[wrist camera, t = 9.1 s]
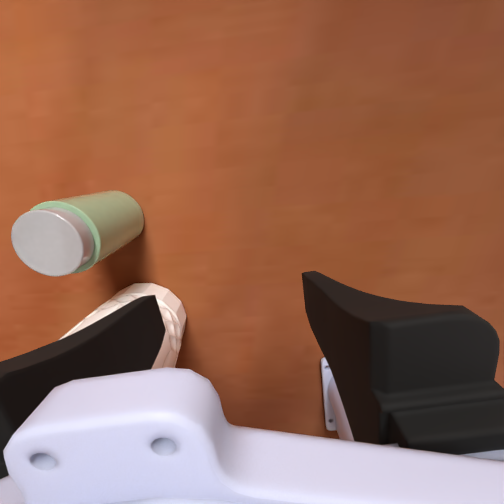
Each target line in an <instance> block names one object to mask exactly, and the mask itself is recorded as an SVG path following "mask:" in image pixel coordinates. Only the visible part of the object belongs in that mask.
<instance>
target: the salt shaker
mask: <svg viewBox="0 0 504 504" xmlns="http://www.w3.org/2000/svg"><path fill="white" fill-rule="evenodd" d="M143 226H144V216H143V212H142V210H141V208H140V206H139V204H138V203H137V202H136V201H135V200H134V199H133V198H132V197H131V196H129V195H127V194H126V193H123V192H120V191H114V190H111V191H104V192H98V193H92V194H87V195H81V196H75V197H70V198H64V199H58V200H52V201H47V202H43V203H40V204H38V205H36V206H35V207H33V208H32V209H31V210H30V211H29V212H26V213H24V214H23V215H21V216H20V217H19V218H18V219H17V220H16V221H15V223H14V225H13V228H12V232H11V239H12V244H13V247H14V250H15V252H16V253H17V255H18V256H19V258H20V259H21V260H22V261H23V262H24V263H25V264H26V265H27V266H28V267H30V268H31V269H33V270H34V271H36V272H38V273H41V274H44V275H48V276H64V275H67V274H70V273H79V272H83V271H85V270H87V269H89V268H91V267H92V266H94V265H95V264H97V263H98V262H100V261H101V260H103V259H105V258H106V257H108V256H109V255H111V254H112V253H114V252H115V251H117V250H119V249H120V248H122V247H123V246H125V245H126V244H128V243H129V242H131V241H133V240H134V239H135V238H137V237H138V236H139V235H140V233H141V231H142V229H143Z"/></svg>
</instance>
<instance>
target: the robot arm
mask: <svg viewBox="0 0 504 504" xmlns="http://www.w3.org/2000/svg"><path fill="white" fill-rule="evenodd" d="M302 280H303V290H304V299H305V309H306V313H307V316H308V320H309V323H310V326H311V329H312V331H313V333H314V335H315V337H316V339H317V342H318V344H319V346H320V348H321V350H322V352H323V354H324V356H325V357H324V358H322V359H321V372H322V385H323V398H324V410H325V423H326V428H327V429H328V430H330V431H333V430H337V432H338V435H339V438H340V439H334V438H326V437H319V436H311V435H304V434H296V433H289V432H281V431H274V430H266V429H259V428H251V427H244V426H237V425H232V424H230V423H228V422H227V420H226V418H225V416H224V414H223V410H222V406H221V402H220V398H219V395H218V393H217V392H216V390H215V389H214V387H213V385H212V384H211V382H210V381H209V379H207V378H205V377H203V376H201V375H199V374H198V373H196V372H194V371H192V370H190V369H181V368H168V367H166V368H158V369H151V368H152V366H153V364H154V362H155V360H156V358H157V355H158V353H159V351H160V349H161V346H162V343H163V339H164V335H165V332H166V328H165V325H164V322H163V319H162V315H161V312H160V309H159V306H158V302H157V299H156V296H155V295H148V296H142V297H140V298H137V299H135V300H133V301H131V302H130V303H128V304H126V305H124V306H123V307H121V308H119V309H117V310H116V311H114V312H112V313H110V314H109V315H107V316H105V317H103V318H102V319H100V320H98V321H96V322H94V323H93V324H91V325H89V326H87V327H85V328H83V329H81V330H79V331H77V332H75V333H73V334H71V335H69V336H67V337H65V338H62V339H60V340H58V341H56V342H53V343H51V344H48V345H46V346H43V347H41V348H38V349H36V350H33V351H31V352H28V353H25V354H22V355H20V356H17V357H14V358H11V359H8V360H5V361H2V362H0V504H504V388H502V387H501V386H500V385H499V384H498V383H497V382H495V381H494V378H495V372H496V367H497V362H498V356H499V338H498V335H497V332H496V330H495V329H494V328H493V327H492V326H491V325H490V323H488V322H487V321H485V320H484V319H482V318H481V317H479V316H478V315H476V314H475V313H473V312H472V311H470V310H469V309H467V308H466V307H464V306H458V305H435V304H422V303H413V302H406V301H399V300H394V299H389V298H384V297H380V296H375V295H372V294H369V293H365V292H362V291H359V290H356V289H354V288H351V287H348V286H346V285H344V284H341V283H339V282H337V281H335V280H333V279H331V278H329V277H327V276H325V275H323V274H321V273H319V272H316V271H311V272H304V273H302ZM325 366H328V367H325Z"/></svg>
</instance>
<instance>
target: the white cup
mask: <svg viewBox="0 0 504 504" xmlns="http://www.w3.org/2000/svg"><path fill="white" fill-rule="evenodd" d="M148 295H155V296H156V299H157V302H158V306H159V309H160V312H161V315H162V319H163V322H164V325H165V328H166V332H165V335H164V339H163V343H162V346H161V349H160V351H159V353H158V355H157V358H156V360H155V362H154V364H153V366H152V368H151V369H158V368H166V367H168V368H175V365H176V362H177V358H178V353H179V350H180V346H181V339H182V336H183V333H184V330H185V323H186V317H187V315H186V313H185V310H184V307H183V305H182V302H181V301H180V300H179V299H178V298H177V297H176V296H175V295H174V294H173V293H172V292H171V291H170V290H169V289H167V288H164V287H161V286H159V285H156V284H154V283H134V284H132V285H130V286H128V287H126V288H124V289H122V290H120V291H119V292H118V293H116V294H115V295H114V296H113V297H112V298H111V299H110V300H108V301H107V302H105V303H104V304H102V305H101V306H99V307H98V308H97V309H95V310H94V311H93V312H92V313H91V314H90V315H88V316H87V317H86V318H84V319H83V320H82V321H80V322H79V323H78V324H77V325H75V326H74V327H73V328H72V329H71V330H69V331H68V332H67V333H66V334H65V335H63V336H62V337H61V338H60V339H62V338H65V337H67V336H69V335H71V334H73V333H75V332H77V331H79V330H81V329H83V328H85V327H87V326H89V325H91V324H93V323H94V322H96V321H98V320H100V319H102V318H103V317H105V316H107V315H109V314H110V313H112V312H114V311H116V310H117V309H119V308H121V307H123V306H124V305H126V304H128V303H130V302H131V301H133V300H135V299H137V298H140V297H142V296H148ZM60 339H59V340H60Z"/></svg>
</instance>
